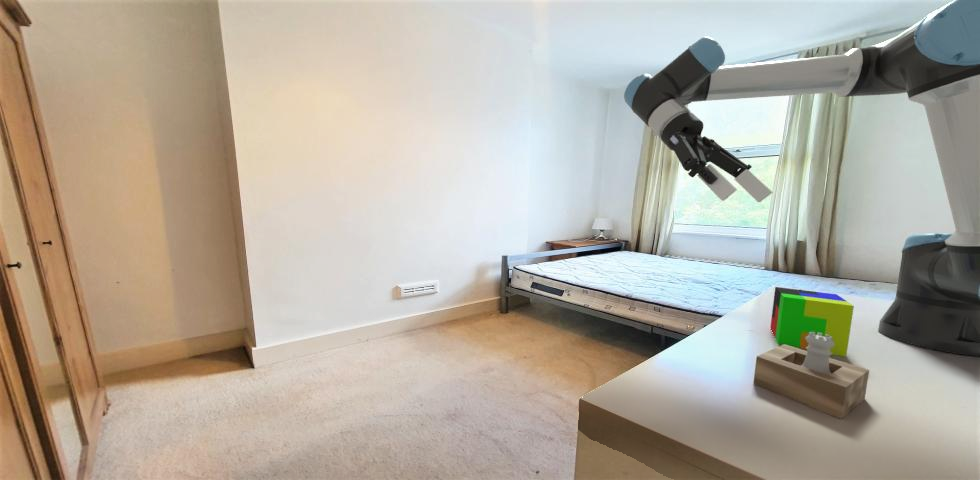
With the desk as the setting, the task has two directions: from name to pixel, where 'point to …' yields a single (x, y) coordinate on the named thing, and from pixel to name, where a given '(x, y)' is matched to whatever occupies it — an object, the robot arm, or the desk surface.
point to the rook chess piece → (818, 352)
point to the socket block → (811, 380)
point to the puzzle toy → (811, 318)
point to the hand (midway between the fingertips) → (748, 196)
